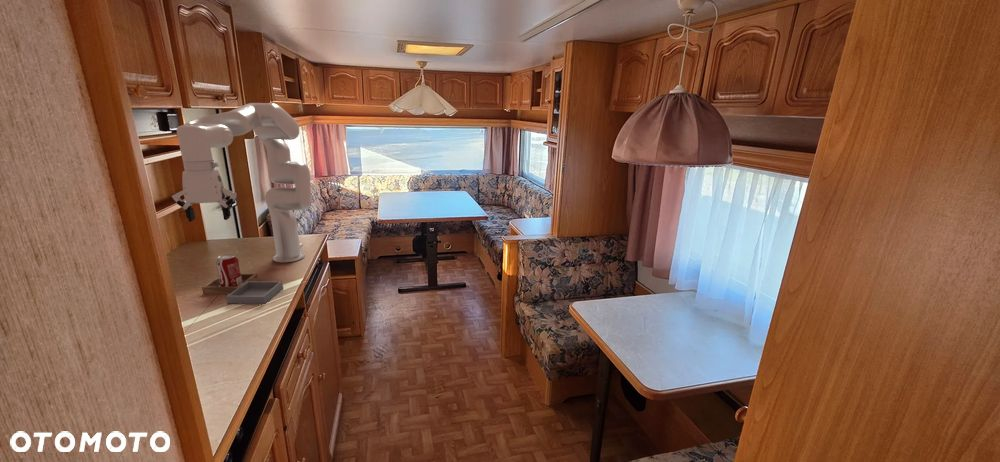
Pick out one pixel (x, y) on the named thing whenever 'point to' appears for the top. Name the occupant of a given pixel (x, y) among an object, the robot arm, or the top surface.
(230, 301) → the grey tray
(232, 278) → the soda can
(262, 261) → the top surface
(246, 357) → the top surface
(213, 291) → the wooden tray
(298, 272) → the top surface
